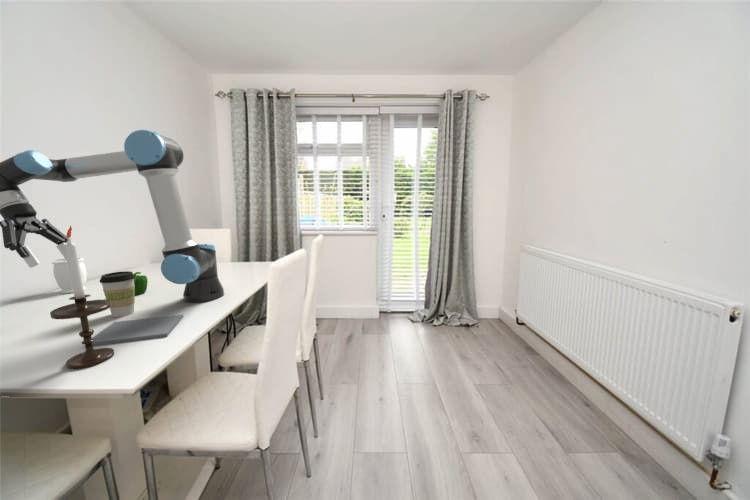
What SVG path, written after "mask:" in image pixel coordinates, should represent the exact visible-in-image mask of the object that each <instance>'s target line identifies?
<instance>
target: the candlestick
mask: <svg viewBox="0 0 750 500" xmlns="http://www.w3.org/2000/svg"><path fill="white" fill-rule="evenodd" d="M72 230H73V228H72V226H71V225H69V228H68V230H67V232H66V236H67V238H68V242H66V243H67V244H65V248H66V254H67V259H68V264H69V270H70V275H71V281H72V286H73V291H74V293H73V295H74V296H71V297H69V298H68V300H72V301H74V303H70V304H66V305H63V306H60V307H57V308H55V309H52V310H51V311H50V313H49V314H50V318H51V319H53V320H69V319H80V325H81V326H80V327H81V331H80V332H79V333H78V336H79V337H80V338H83V340H82V341H81V342H80V343H81V345H84V348H85V350H84V352H80V353H78V354H76V355H74V356H72V357H70V358H69V359H67V360H66V363H65V366H66V367H65V368H67V369H68V370H81V369H82V370H83V369H87V368H90V367H94V366H97V365H100V364H102V363H105V362H106V361H108V360H110V359H111V358H113V357H114V356H115V350H114V348H111V347H102V348H101V347H99V348H94V346H93V345H92V342H94V341H95V340H94V339H92V338H93V337H92V336H94V332H95V330H94V329H92V328H90V324H89V318H88V317H89V316H92V315H95V314H98V313H101V312H104V311H106V310H108V309H110V307H111V302H110V301H109V300H106V299H93V300H91V299H90V300H87V298H88V297H92V295H91V294H86V293H85V290H84V287H83V282H82V276H81V271H80V265H79V259H78V258H79V255H78V249H77V244H76V243H74V242H73V241H72V238H71V236H72Z"/></svg>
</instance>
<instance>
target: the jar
mask: <svg viewBox="0 0 750 500" xmlns="http://www.w3.org/2000/svg"><path fill="white" fill-rule="evenodd" d="M78 259H79V265H80V271H81V276H82V282H83V287H84V291H86V289H87V286H86V283H87V268H86V265H85V263H84V261H85V258H84V257H78ZM51 264H53V268H52V269H53V270H52V271H53V277H54V279H55V281H56V284H57V287H59V288H60V289H61V290H60V294H74V291H73V286H72V281H71V275H70V270H69V264H68V262H67V261H66V259H65V258H59V259H54V260H52V261H51Z"/></svg>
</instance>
